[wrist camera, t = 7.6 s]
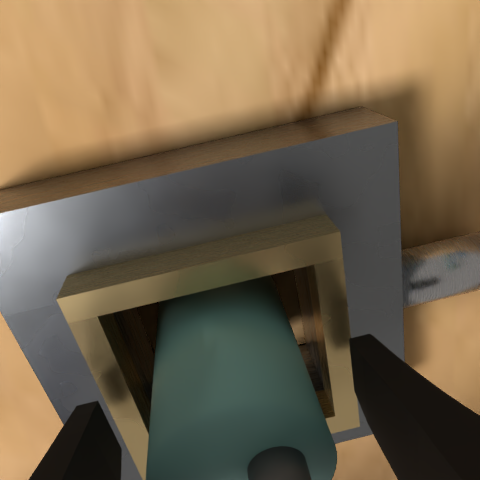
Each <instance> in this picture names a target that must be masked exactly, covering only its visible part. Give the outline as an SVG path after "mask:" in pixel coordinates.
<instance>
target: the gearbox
mask: <svg viewBox="0 0 480 480" xmlns="http://www.w3.org/2000/svg"><path fill="white" fill-rule="evenodd" d="M293 269H294V274H295V280H296V286H297V292H298V298H299V304H300V311H301V317H302V323H303V329H304V335H305V341H306V344H305V345H301V346H298V347H299V349H300V352H301V355H302V357H303V360H304V363H305V366H306V368H307V371H308V374H309V376H310V379H311V382H312V384H313V387H314V390H315V392H316V395H317V398H318V400H319V403H320V406H321V408H322V411H323V414H324V416H325V419H326V422H327V425H328V427H329V430H330V433H331V435H332V438H333V441H334V443H335V444H336V443H340V442H344V441H348V440H352V439H356V438H360V437H364V436H368V435H372V434H373V433H372V431H371V429H370V427H369V425H368V423H367V421H366V418H365V416H364V413H363V411H362V409H361V406H360V404H359V401H358V399H357V396H356V394H355V391H354V383H353V374H352V364H351V355H350V345H349V339H350V338H354V337H358V336H362V335H366V334H371V335H373V336H374V337H375V338H377V339H378V340H379V341H380V342H381V343H382V344H383V345H385V346H386V347H387V348H388V349H389V350H390V351H392V352H393V353H394V354H395V355H396V356H398V357H399V358H400V359H401V360H403V361H404V362H405V359H404V324H403V308H407V307H411V306H415V305H420V304H424V303H428V302H432V301H436V300H440V299H444V298H448V297H452V296H457V295H461V294H465V293H469V292H473V291H477V290H480V231H479V232H475V233H471V234H467V235H462V236H458V237H454V238H450V239H446V240H442V241H437V242H433V243H429V244H425V245H421V246H417V247H412V248H408V249H404V250H401V221H400V186H399V152H398V121H396V120H393V119H391V118H389V117H386V116H384V115H381V114H379V113H376V112H374V111H371V110H369V109H366V108H364V107H358V108H354V109H350V110H345V111H341V112H336V113H332V114H328V115H323V116H319V117H315V118H310V119H306V120H302V121H297V122H293V123H289V124H284V125H280V126H276V127H271V128H267V129H263V130H258V131H254V132H250V133H245V134H241V135H237V136H232V137H228V138H224V139H219V140H215V141H211V142H206V143H202V144H198V145H193V146H189V147H185V148H180V149H176V150H172V151H167V152H163V153H159V154H154V155H150V156H146V157H141V158H137V159H133V160H128V161H124V162H120V163H115V164H111V165H107V166H102V167H98V168H94V169H89V170H85V171H81V172H76V173H72V174H68V175H63V176H59V177H55V178H50V179H46V180H42V181H37V182H33V183H29V184H24V185H20V186H16V187H11V188H7V189H2V190H0V312H1V314H2V315H3V317H4V319H5V321H6V323H7V324H8V326H9V328H10V330H11V331H12V333H13V335H14V337H15V339H16V340H17V342H18V344H19V346H20V347H21V349H22V351H23V353H24V355H25V356H26V358H27V360H28V362H29V364H30V365H31V367H32V369H33V371H34V372H35V374H36V376H37V378H38V380H39V381H40V383H41V385H42V387H43V388H44V390H45V392H46V394H47V396H48V397H49V399H50V401H51V403H52V405H53V406H54V408H55V410H56V412H57V413H58V415H59V417H60V419H61V421H62V422H63V424H65V423H66V421H67V420H68V418H69V417H70V415H71V414H72V412H73V411H74V409H75V407H76V406H78V405H82V404H86V403H90V402H94V401H99V403H100V405H101V408H102V410H103V412H104V414H105V416H106V418H107V420H108V422H109V424H110V426H111V428H112V430H113V432H114V434H115V436H116V438H117V440H118V442H119V444H120V446H121V449H122V461H121V480H146V465H147V452H148V439H149V426H150V413H151V400H152V387H153V374H154V361H155V355H154V353H153V350H152V348H151V345H150V342H149V340H148V337H147V334H146V332H145V329H144V326H143V324H142V321H141V319H140V316H139V313H138V311H137V308H136V307H139V306H143V305H147V304H151V303H155V302H159V301H164V300H168V299H172V298H176V297H180V296H184V295H189V294H193V293H197V292H201V291H205V290H209V289H214V288H218V287H222V286H226V285H230V284H235V283H239V282H243V281H247V280H251V279H255V278H260V277H264V276H268V275H272V274H276V273H280V272H285V271H289V270H293Z"/></svg>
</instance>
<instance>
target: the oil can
mask: <svg viewBox="0 0 480 480" xmlns="http://www.w3.org/2000/svg"><path fill="white" fill-rule="evenodd" d="M336 464H337V451H336V447H335V443H334V441H333V438H332V435H331V433H330V430H329V427H328V425H327V422H326V419H325V416H324V414H323V411H322V408H321V406H320V403H319V400H318V398H317V395H316V392H315V390H314V387H313V384H312V382H311V379H310V376H309V374H308V371H307V368H306V366H305V363H304V360H303V357H302V355H301V352H300V349H299V347H298V344H297V341H296V339H295V336H294V333H293V331H292V328H291V325H290V323H289V320H288V317H287V315H286V312H285V309H284V307H283V304H282V301H281V299H280V296H279V293H278V290H277V288H276V285H275V283H274V280H273V278H272V277H271V275H268V276H264V277H260V278H255V279H251V280H247V281H243V282H239V283H235V284H230V285H226V286H222V287H218V288H214V289H209V290H205V291H201V292H197V293H193V294H189V295H184V296H180V297H176V298H172V299H168V300H164V301H159V308H158V321H157V335H156V348H155V361H154V374H153V387H152V400H151V413H150V426H149V439H148V452H147V465H146V480H332V478H333V475H334V472H335V469H336Z"/></svg>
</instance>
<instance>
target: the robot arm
mask: <svg viewBox="0 0 480 480" xmlns="http://www.w3.org/2000/svg"><path fill="white" fill-rule="evenodd" d="M349 345H350V355H351V364H352V374H353V383H354V391H355V394H356V396H357V399H358V401H359V404H360V406H361V409H362V411H363V413H364V416H365V418H366V421H367V423H368V425H369V427H370V429H371V431H372V433H373V435H374V436H375V438H376V440H377V442H378V444H379V446H380V447H381V449H382V451H383V453H384V455H385V457H386V458H387V460H388V462H389V464H390V466H391V468H392V469H393V471H394V473H395V475H396V477H397V478H398V480H480V415H478V414H476V413H475V412H473V411H472V410H470V409H469V408H467V407H465V406H464V405H462V404H461V403H459V402H458V401H457V400H455V399H454V398H452V397H451V396H449V395H448V394H446V393H445V392H443V391H442V390H441V389H439V388H438V387H436V386H435V385H434V384H432V383H431V382H430V381H428V380H427V379H426V378H424V377H423V376H422V375H420V374H419V373H418V372H416V371H415V370H414V369H413V368H411V367H410V366H409V365H408V364H406V363H405V362H404V361H403V360H401V359H400V358H399V357H398V356H396V355H395V354H394V353H393V352H392V351H390V350H389V349H388V348H387V347H386V346H385V345H383V344H382V343H381V342H380V341H379V340H378V339H377V338H375V337H374V336H373V335H371V334H366V335H362V336H358V337H354V338H350V339H349ZM121 461H122V449H121V446H120V444H119V442H118V440H117V438H116V436H115V434H114V432H113V430H112V428H111V426H110V424H109V422H108V420H107V418H106V416H105V414H104V412H103V410H102V408H101V405H100V403H99V401H94V402H90V403H86V404H82V405H78V406H76V407H75V409H74V411H73V412H72V414H71V415H70V417H69V418H68V420H67V421H66V423H65V424H64V426H63V428H62V429H61V431H60V432H59V434H58V435H57V437H56V439H55V440H54V442H53V443H52V445H51V446H50V448H49V450H48V451H47V453H46V454H45V456H44V457H43V459H42V460H41V462H40V463H39V465H38V466H37V468H36V469H35V471H34V472H33V474H32V476H31V477H30V479H29V480H121Z"/></svg>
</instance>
